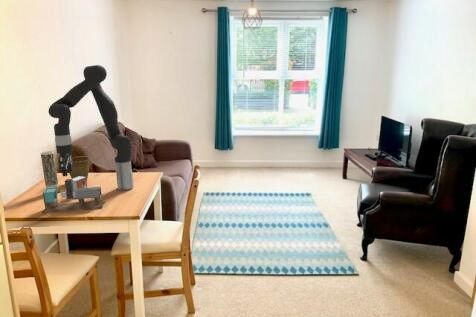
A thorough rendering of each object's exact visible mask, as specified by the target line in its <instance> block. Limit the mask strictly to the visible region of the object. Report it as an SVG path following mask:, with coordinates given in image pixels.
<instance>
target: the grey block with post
mask: <svg viewBox="0 0 476 317" xmlns="http://www.w3.org/2000/svg"><path fill="white" fill-rule="evenodd" d="M64 185H65V191H61V192H60V198H65V199H66V200H73V199H74V198H76V196H75V191H74V187H73V180H72V178H66V179H65V180H64ZM99 192H100V190H99Z"/></svg>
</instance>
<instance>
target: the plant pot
mask: <svg viewBox="0 0 476 317" xmlns="http://www.w3.org/2000/svg"><path fill="white" fill-rule="evenodd" d="M72 160H73V163H72V172H68V174H69V176H70V179H73V178H76V177H78V176H81V177H86V180H87V181H88V177H89V173H90V160H91V159H90V157H89V156H85V155H84V156H81V155H80V156H72Z"/></svg>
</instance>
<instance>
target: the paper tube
mask: <svg viewBox="0 0 476 317" xmlns="http://www.w3.org/2000/svg"><path fill="white" fill-rule="evenodd" d="M40 159H41V166H42V171H43V179H44V185H45V190H46V189H56V190H57V194H59V192H60V187H59V180H58V174H57V166H56V159H55V152H54V151H53V150H52V151H43V152H41V153H40Z"/></svg>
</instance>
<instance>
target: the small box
mask: <svg viewBox="0 0 476 317" xmlns="http://www.w3.org/2000/svg"><path fill="white" fill-rule="evenodd" d="M71 179H72V178H71ZM72 180H73V187H74V191H75V190H76V189H77V188H88V179H87V180H86V177H81V176H78V177H76V178H73V179H72Z"/></svg>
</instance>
